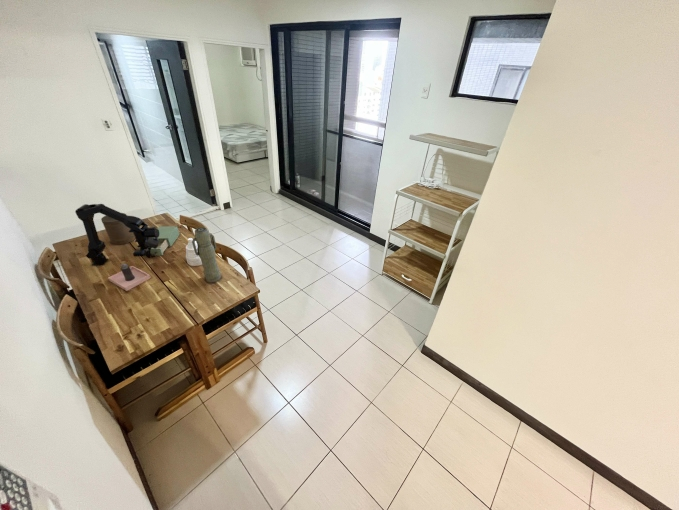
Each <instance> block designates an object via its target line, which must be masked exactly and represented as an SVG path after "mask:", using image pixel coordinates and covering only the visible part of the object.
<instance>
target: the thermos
mask: <svg viewBox="0 0 679 510" xmlns="http://www.w3.org/2000/svg"><path fill="white" fill-rule="evenodd" d="M193 234H194V238H192V239H193V240H192V244H193V248H194V251H195V254H196V255H197V256H198V255H199V257H200V258H201V261H202V265H201V266H202V268H203V276H204V278H205V281H206V283H209V284H214V283H218V282H219V281H220V280H221V279H222V276H221V269H220V268H219V266H218V262H217V258H216V250H217V247H218V246H217V243H216V239H215V235H214V234H212V233H210V232H209V230H208V229H207V227H203V226H202V227H197V228H196V229H195V230H194V233H193ZM195 241H196V242H197V246H198V247H197V249H196V246H195ZM197 250H198V252H197Z"/></svg>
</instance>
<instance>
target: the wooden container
mask: <svg viewBox="0 0 679 510" xmlns="http://www.w3.org/2000/svg"><path fill="white" fill-rule="evenodd" d="M121 213H122V214H125V215H127V213H125V212H121ZM100 221H101V223H102V225H103V227H104V230H105V232H106V234H107V236H108V238H109V240H110V242H111V244H113V245H125V244H129V243H131V242H133V241H135V240H136V238H135V236H134V233H133V232H129V231H130V228H128V227H127V226H125V225H124V223H122V222H120V221H118V220H115V219H113V218H111V217H108V216H106V215H104V216H102V217H101V219H100Z"/></svg>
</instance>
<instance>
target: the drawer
mask: <svg viewBox="0 0 679 510" xmlns="http://www.w3.org/2000/svg"><path fill="white" fill-rule="evenodd" d="M159 241H160V242H159V246H158V247H157V248H156V249H154V248H151V257H156V256H164V252H165V251H166V249H167V248H168V245H169V243H168V240H167V239H159Z"/></svg>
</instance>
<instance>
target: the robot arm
mask: <svg viewBox="0 0 679 510" xmlns="http://www.w3.org/2000/svg"><path fill="white" fill-rule="evenodd" d="M74 212H75V215H76V216H77V218H78V219H79V220H80V221H81V222H82V224H83V227H84V230H85V234H86V237H87V240H88V245H87V253H86V255H85V257H86V258H87V259H90V260H91V262H92V263H91V266H104V265H105V264H106V263H107V262H108V261H109V258H107V257H106V255H105V254H104V253H103V252H105V249H106V247H107V246H106V244H105V243H106V242H105V241H104V240H101V239H100V237H99V234H98V231H97V228H96V225H95V221H94V218H95V215H96V214H101V215H104V216H108V217H111V218H113V219H115V220H118V221H120V222H122V223H124V225H125V226H127V227H128V228H130V231H129V232H133V233H134V236H135V239H134V242H135V243H137V245H136V246H137V248H138V249H137V248H136V249H135V250H134V251H133V252H132V255H133V257H134V258H137V257H146V258H148V259H151V257H152V256H151V248H154V249H156V248H157V247H158V246H159V242H160V241H159V239H158V238H157V237H159V230H158V227H156V226H151V227H150V226H149V224H147V223H146V222H144V220H142V218H140V217H137V216H134V215H129V214H128V215H127V214H126V213H125V214H126V215H125V214H122V213H123V212H120V211H118V210H115V209H113V208H111V207H109V206H107V205H105V204H104V203H91V204H87V203H86V204H82V205H81V206H79V207H78V208H76V210H75V211H74Z"/></svg>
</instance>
